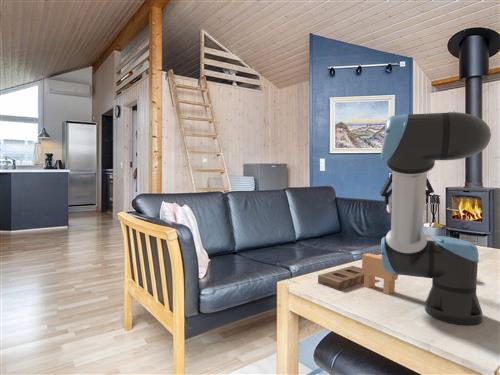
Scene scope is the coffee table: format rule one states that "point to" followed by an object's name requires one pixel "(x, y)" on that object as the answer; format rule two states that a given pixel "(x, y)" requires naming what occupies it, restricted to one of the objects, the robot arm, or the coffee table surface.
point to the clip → (377, 273)
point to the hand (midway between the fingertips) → (405, 210)
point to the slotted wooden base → (342, 278)
